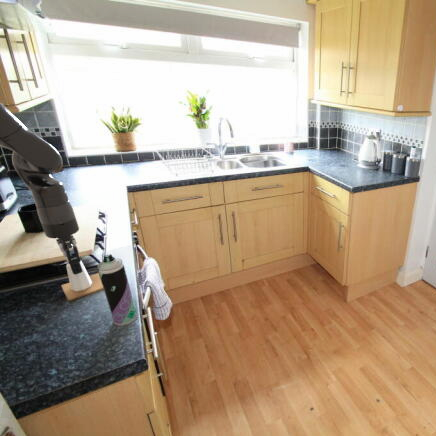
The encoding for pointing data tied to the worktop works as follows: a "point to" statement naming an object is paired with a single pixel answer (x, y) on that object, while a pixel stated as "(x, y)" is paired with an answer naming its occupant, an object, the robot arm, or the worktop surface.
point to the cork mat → (74, 295)
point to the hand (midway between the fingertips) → (76, 269)
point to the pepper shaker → (78, 278)
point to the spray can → (117, 290)
